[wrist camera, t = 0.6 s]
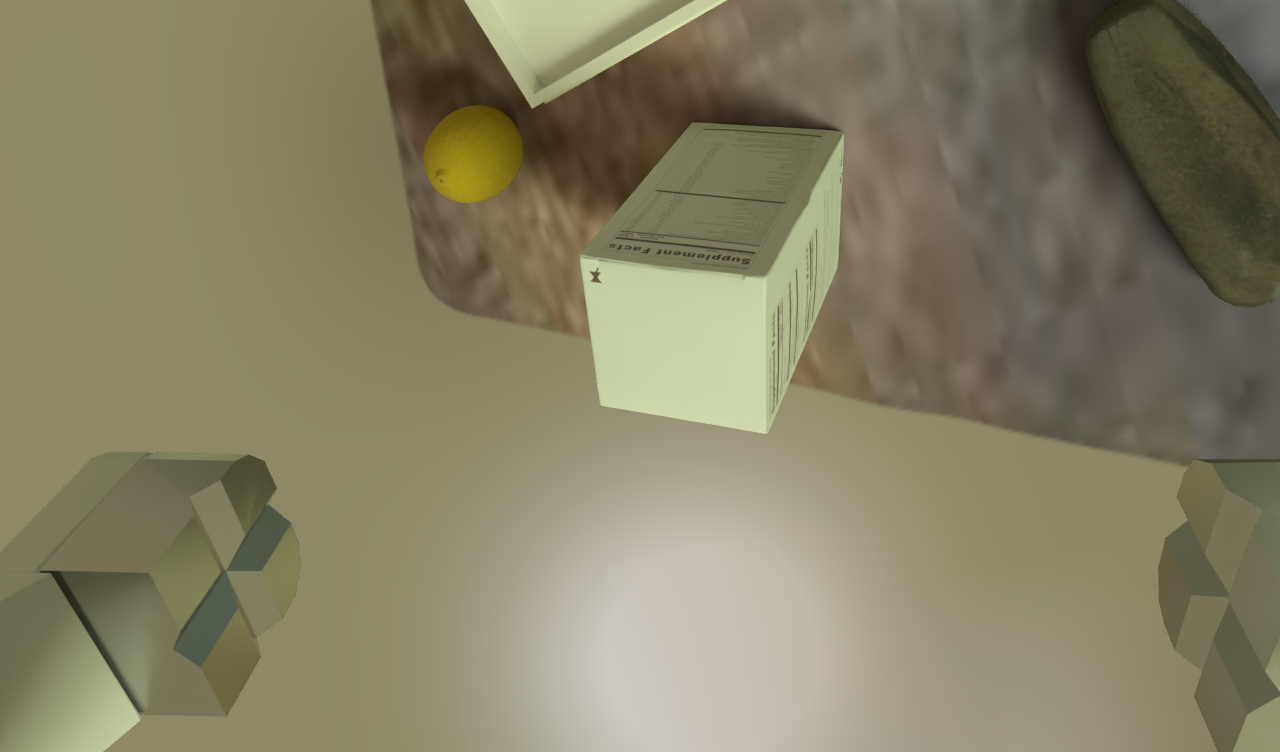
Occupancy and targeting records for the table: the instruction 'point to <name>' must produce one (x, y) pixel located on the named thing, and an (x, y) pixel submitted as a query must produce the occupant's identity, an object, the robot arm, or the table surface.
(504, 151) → the lemon
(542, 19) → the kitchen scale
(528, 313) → the table surface
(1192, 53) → the decorative stone
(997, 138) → the table surface
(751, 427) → the supplement box
